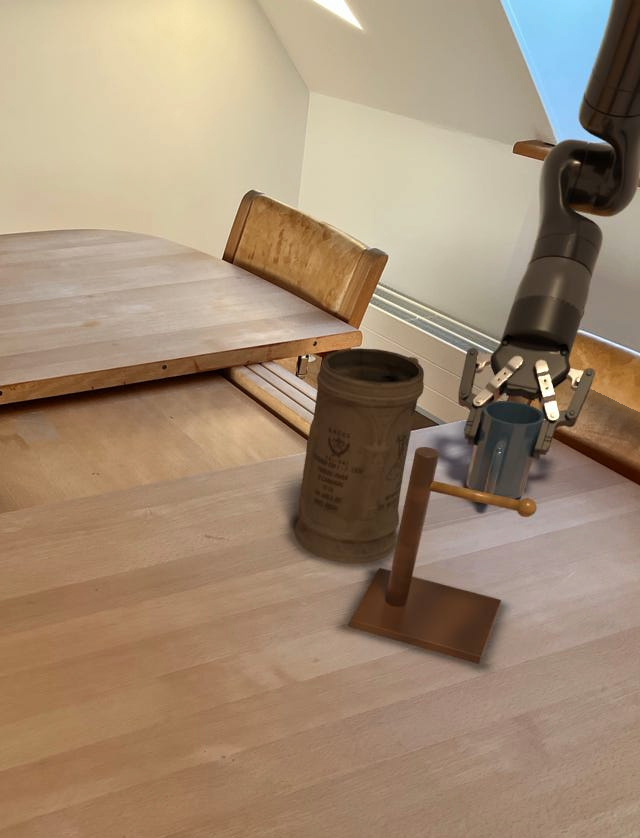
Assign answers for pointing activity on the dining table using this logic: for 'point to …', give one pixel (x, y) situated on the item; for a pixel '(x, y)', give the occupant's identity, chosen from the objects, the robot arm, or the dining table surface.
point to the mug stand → (424, 600)
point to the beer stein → (357, 454)
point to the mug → (504, 448)
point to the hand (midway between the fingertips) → (503, 448)
